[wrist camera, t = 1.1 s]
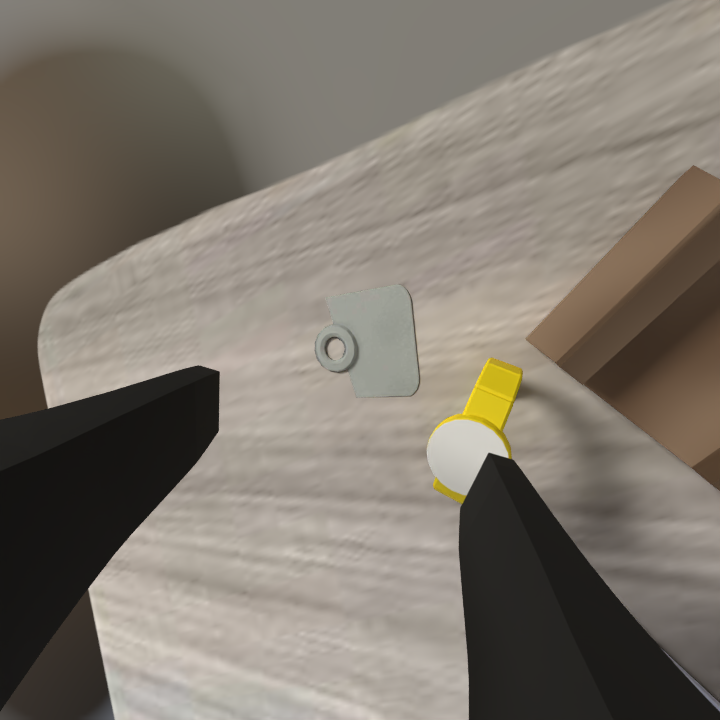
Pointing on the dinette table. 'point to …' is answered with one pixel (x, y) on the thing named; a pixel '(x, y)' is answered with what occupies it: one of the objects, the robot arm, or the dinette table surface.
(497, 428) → the watch
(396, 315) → the mounting bracket
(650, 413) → the rack
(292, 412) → the dinette table surface
